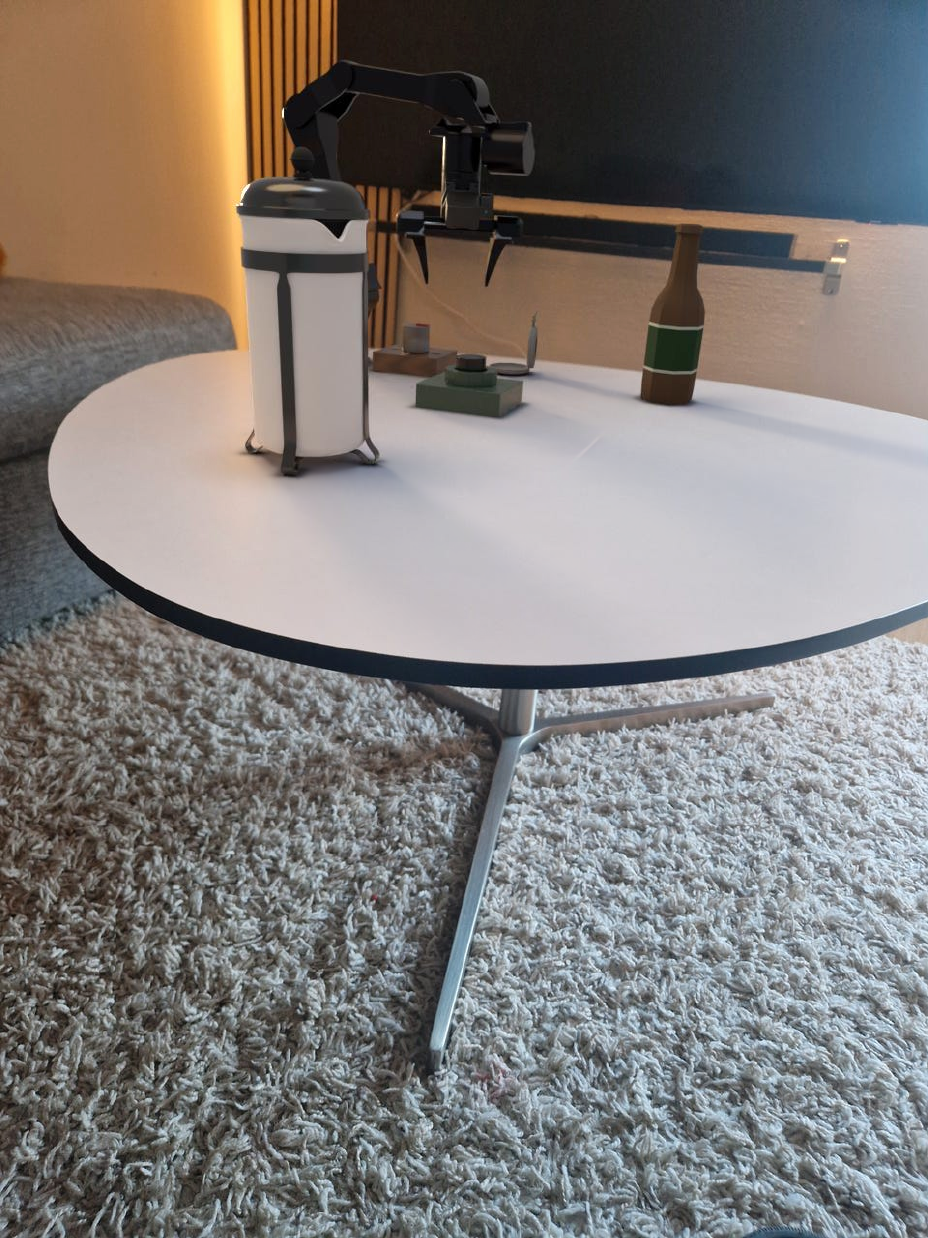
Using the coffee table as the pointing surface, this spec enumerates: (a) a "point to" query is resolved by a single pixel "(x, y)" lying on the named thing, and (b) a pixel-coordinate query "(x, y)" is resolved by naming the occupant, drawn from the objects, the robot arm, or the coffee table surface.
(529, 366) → the pocket watch
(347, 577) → the coffee table surface
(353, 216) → the coffee press
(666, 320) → the beer bottle
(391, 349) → the dial panel
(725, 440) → the coffee table surface
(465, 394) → the button base
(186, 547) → the coffee table surface
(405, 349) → the dial
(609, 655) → the coffee table surface
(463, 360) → the push button
